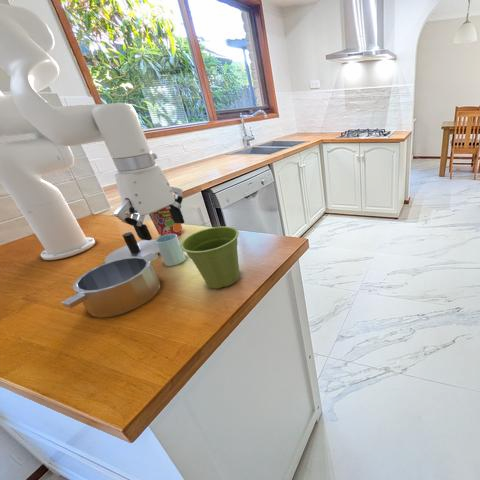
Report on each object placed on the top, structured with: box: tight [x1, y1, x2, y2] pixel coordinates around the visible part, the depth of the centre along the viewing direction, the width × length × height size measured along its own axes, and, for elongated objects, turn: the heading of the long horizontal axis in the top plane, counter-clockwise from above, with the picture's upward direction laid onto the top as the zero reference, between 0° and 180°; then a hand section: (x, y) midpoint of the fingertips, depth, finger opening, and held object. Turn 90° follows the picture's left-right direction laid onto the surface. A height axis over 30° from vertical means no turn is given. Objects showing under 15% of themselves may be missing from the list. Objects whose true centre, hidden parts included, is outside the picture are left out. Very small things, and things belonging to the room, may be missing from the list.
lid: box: [104, 231, 160, 264], centre depth 81 cm, size 14×14×7 cm
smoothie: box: [148, 206, 183, 236], centre depth 89 cm, size 8×8×20 cm
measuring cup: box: [154, 234, 186, 267], centre depth 76 cm, size 5×5×7 cm
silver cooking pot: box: [61, 253, 161, 318], centre depth 63 cm, size 13×19×6 cm
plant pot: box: [180, 225, 240, 290], centre depth 65 cm, size 12×12×11 cm
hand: (164, 230), depth 74 cm, fingers open, 9 cm apart
